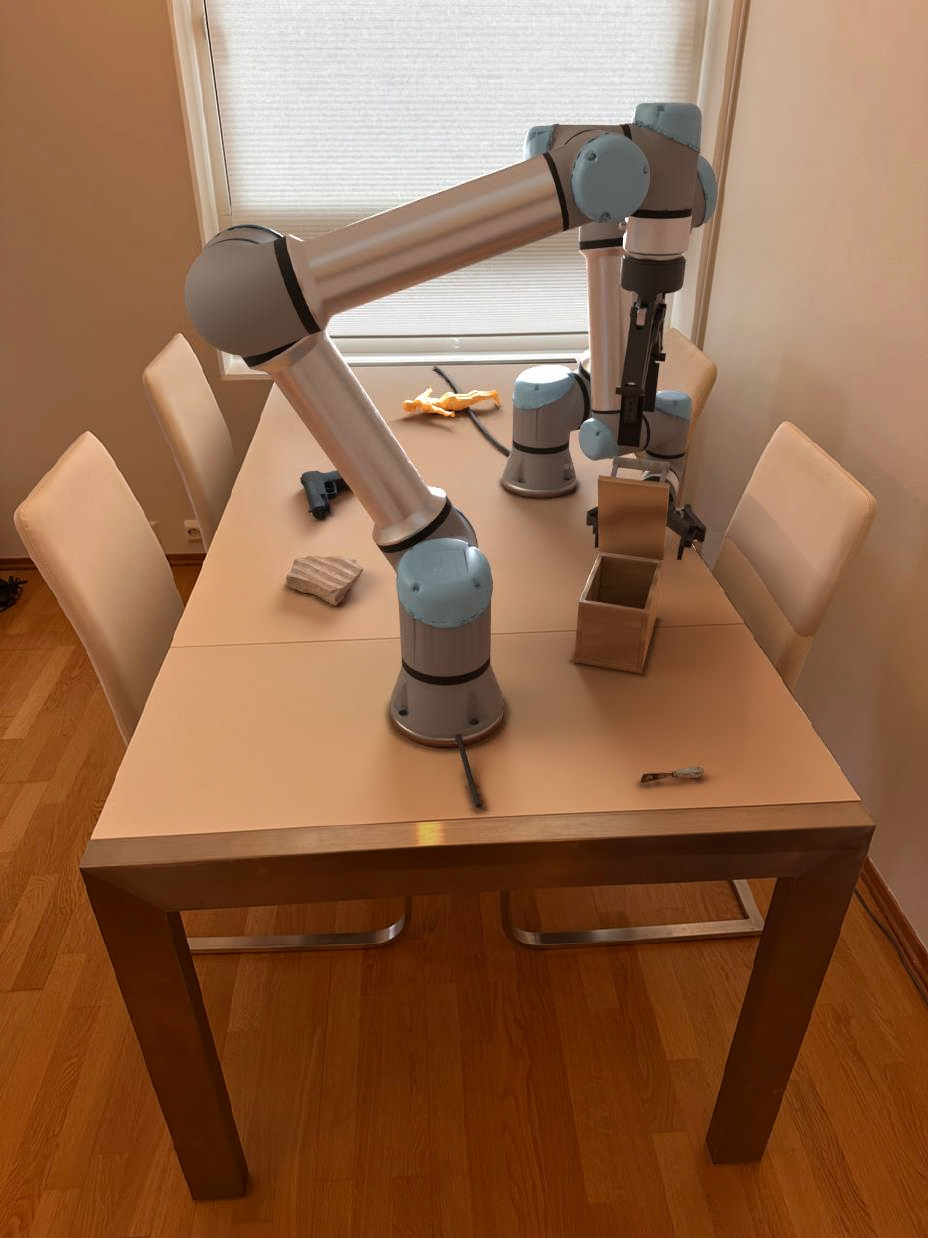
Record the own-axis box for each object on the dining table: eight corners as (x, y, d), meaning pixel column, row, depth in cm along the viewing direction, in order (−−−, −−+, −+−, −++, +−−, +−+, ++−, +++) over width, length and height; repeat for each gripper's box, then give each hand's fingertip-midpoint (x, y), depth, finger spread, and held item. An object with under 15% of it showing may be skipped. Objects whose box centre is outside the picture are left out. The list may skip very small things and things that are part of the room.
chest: (641, 673, 128) (648, 612, 123) (574, 662, 131) (578, 601, 125) (655, 619, 141) (663, 561, 135) (594, 609, 144) (598, 552, 138)
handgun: (371, 513, 174) (309, 521, 172) (356, 478, 189) (299, 484, 186) (370, 498, 173) (308, 506, 170) (355, 464, 187) (297, 470, 184)
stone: (372, 573, 153) (371, 560, 152) (338, 607, 144) (336, 593, 143) (307, 560, 158) (306, 548, 156) (270, 592, 148) (268, 579, 147)
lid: (668, 488, 122) (677, 447, 126) (597, 479, 124) (608, 439, 128) (662, 560, 135) (671, 521, 139) (598, 551, 138) (608, 513, 141)
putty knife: (703, 777, 109) (705, 767, 109) (642, 788, 108) (644, 777, 107) (700, 772, 110) (702, 762, 109) (639, 782, 109) (640, 771, 108)
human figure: (395, 413, 223) (394, 398, 221) (438, 390, 237) (438, 375, 235) (462, 429, 215) (462, 413, 213) (502, 404, 229) (503, 388, 227)
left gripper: (638, 235, 116) (623, 395, 127) (603, 272, 96) (589, 458, 107) (696, 238, 114) (676, 400, 125) (674, 276, 94) (652, 465, 105)
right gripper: (722, 522, 162) (712, 578, 145) (586, 504, 169) (562, 555, 152) (728, 484, 158) (719, 537, 141) (589, 466, 164) (565, 515, 147)
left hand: (636, 427), depth 116 cm, fingers open, 13 cm apart
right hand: (638, 546), depth 146 cm, fingers open, 13 cm apart
